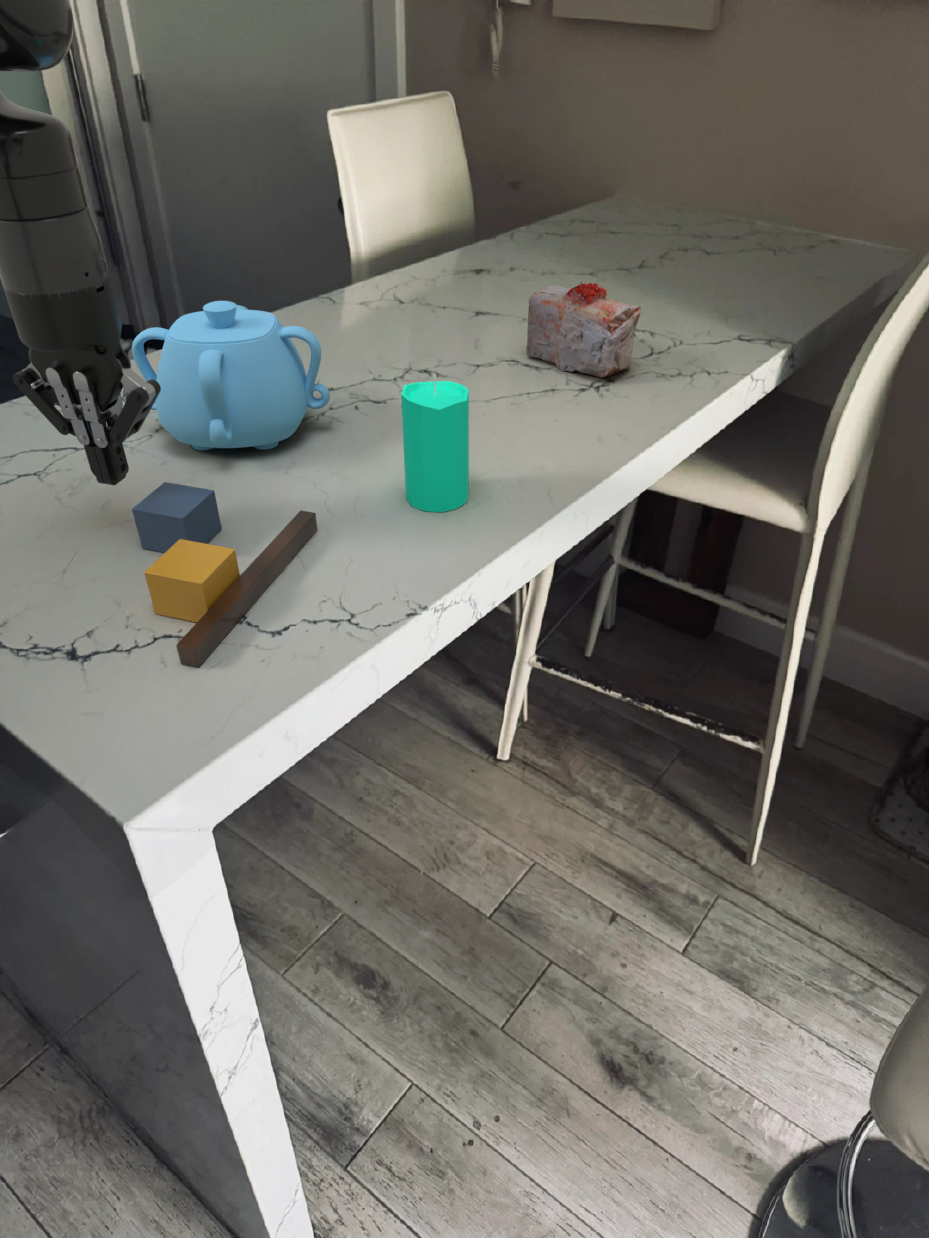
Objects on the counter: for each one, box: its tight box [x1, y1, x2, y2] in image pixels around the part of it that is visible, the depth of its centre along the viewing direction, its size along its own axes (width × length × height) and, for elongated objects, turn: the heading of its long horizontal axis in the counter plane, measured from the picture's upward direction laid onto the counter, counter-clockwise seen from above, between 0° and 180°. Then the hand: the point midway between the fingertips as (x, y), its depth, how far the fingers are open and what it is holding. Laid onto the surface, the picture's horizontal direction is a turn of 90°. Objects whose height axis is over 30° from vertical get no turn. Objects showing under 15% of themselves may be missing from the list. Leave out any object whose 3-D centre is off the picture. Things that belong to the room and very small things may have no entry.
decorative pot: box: [131, 300, 331, 451], centre depth 90 cm, size 16×16×14 cm
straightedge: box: [176, 509, 318, 669], centre depth 70 cm, size 20×2×2 cm, turn 162°
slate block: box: [131, 481, 223, 554], centre depth 76 cm, size 5×5×4 cm
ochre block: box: [143, 539, 241, 623], centre depth 68 cm, size 5×5×4 cm
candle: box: [400, 374, 470, 513], centre depth 79 cm, size 6×6×12 cm
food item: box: [525, 281, 642, 379], centre depth 107 cm, size 14×8×10 cm, turn 50°
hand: (113, 480), depth 76 cm, fingers closed
